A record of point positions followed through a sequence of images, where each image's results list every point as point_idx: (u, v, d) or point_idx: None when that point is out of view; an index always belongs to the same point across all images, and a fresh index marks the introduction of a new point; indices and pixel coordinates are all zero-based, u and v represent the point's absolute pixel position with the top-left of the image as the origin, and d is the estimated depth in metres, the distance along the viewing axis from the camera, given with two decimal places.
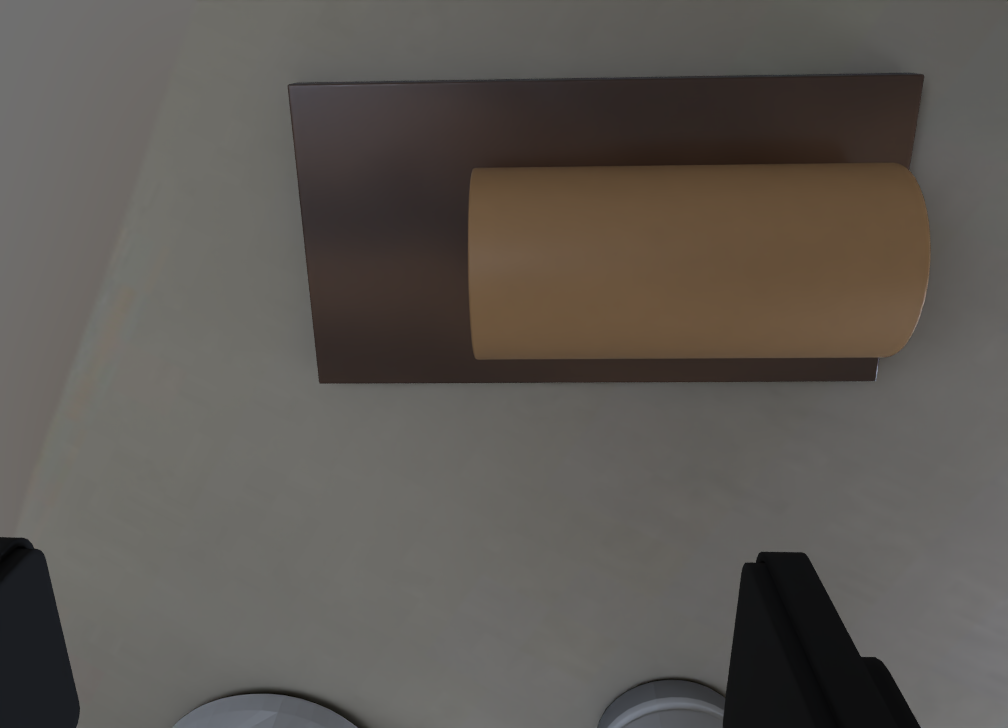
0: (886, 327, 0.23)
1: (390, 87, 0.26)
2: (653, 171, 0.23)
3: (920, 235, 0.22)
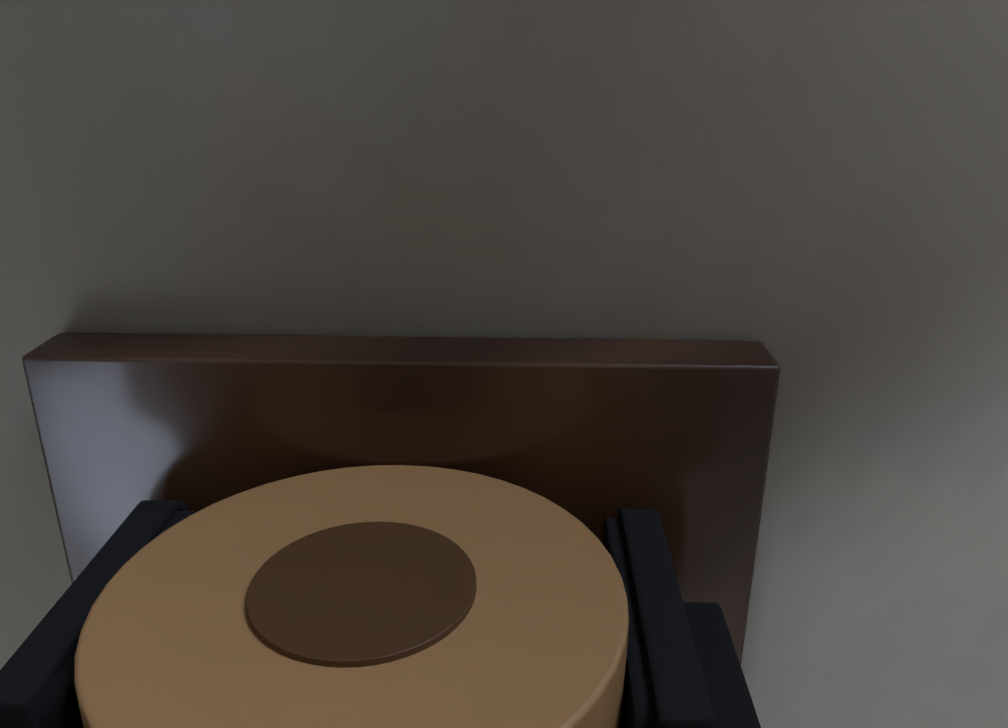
0: None
1: None
2: None
3: None
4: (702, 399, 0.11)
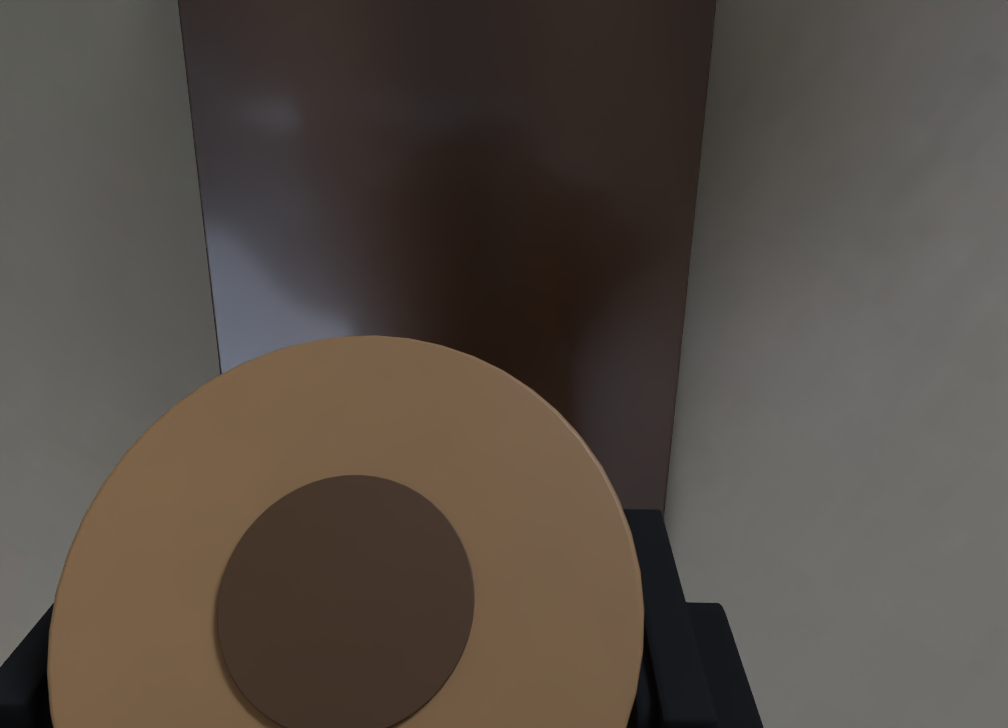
0: None
1: None
2: None
3: None
4: None
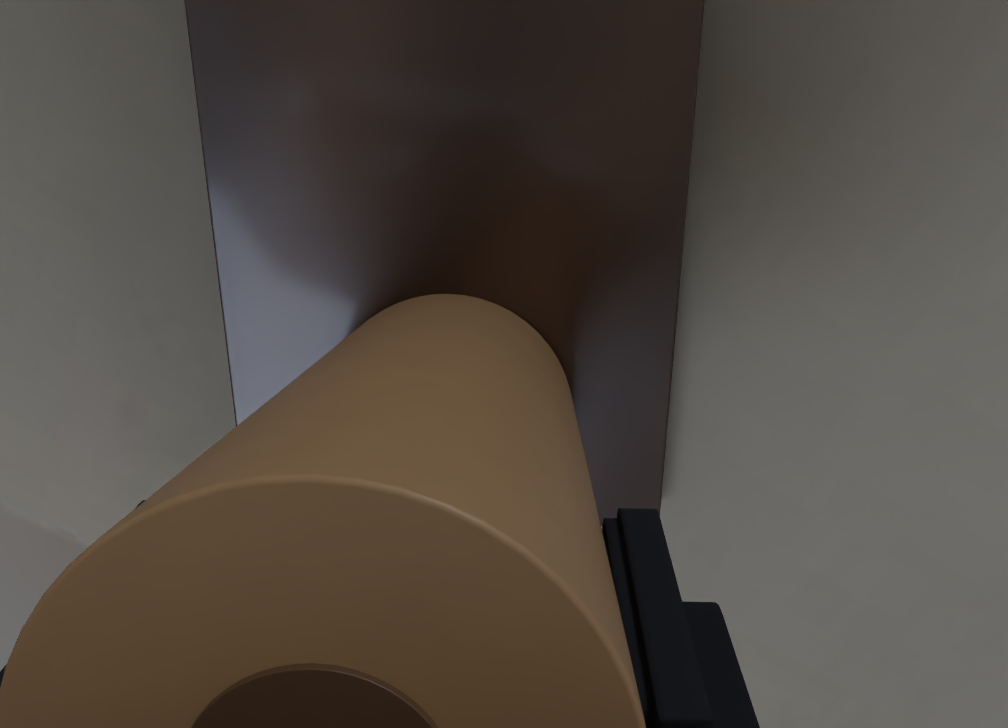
0: None
1: (238, 399, 0.19)
2: None
3: None
4: None
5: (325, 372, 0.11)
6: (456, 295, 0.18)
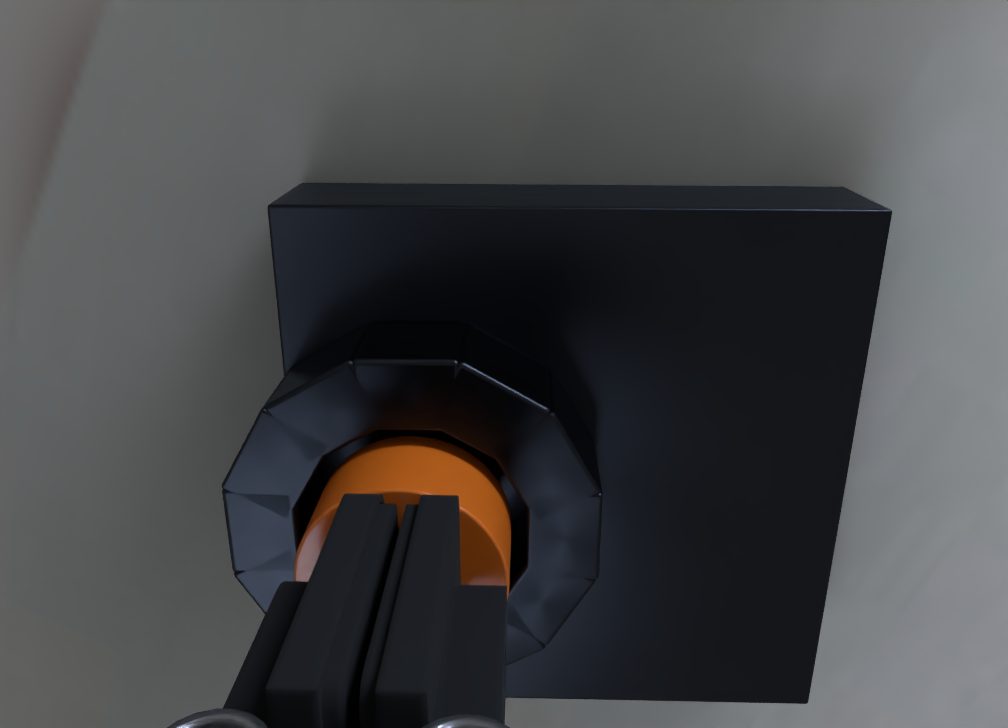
0: None
1: None
2: None
3: None
4: None
5: None
6: None
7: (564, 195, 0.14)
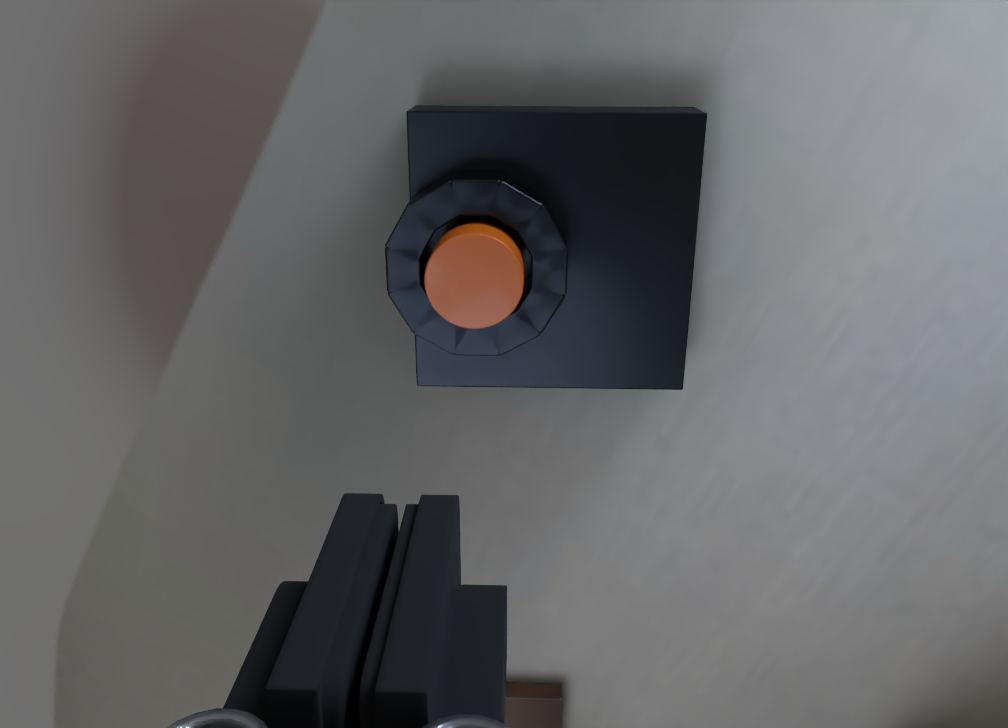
0: None
1: None
2: None
3: None
4: (541, 706, 0.39)
5: None
6: None
7: (550, 109, 0.29)
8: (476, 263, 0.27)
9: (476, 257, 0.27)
